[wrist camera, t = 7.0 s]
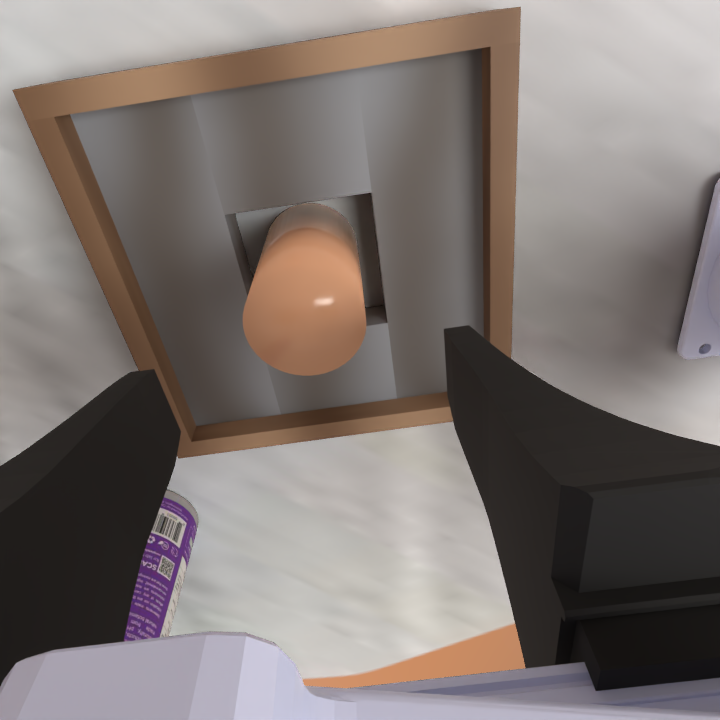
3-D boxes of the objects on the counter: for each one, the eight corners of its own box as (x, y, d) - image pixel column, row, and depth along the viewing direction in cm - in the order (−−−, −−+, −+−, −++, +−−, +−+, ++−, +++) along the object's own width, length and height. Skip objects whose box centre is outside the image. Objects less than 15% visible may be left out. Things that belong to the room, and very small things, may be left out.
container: (88, 500, 26) (-133, 931, 14) (169, 475, 26) (14, 905, 13) (139, 554, 29) (-10, 962, 16) (214, 533, 28) (120, 940, 16)
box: (495, 9, 16) (520, 6, 14) (493, 378, 23) (509, 413, 21) (53, 81, 16) (12, 89, 14) (192, 420, 24) (178, 458, 22)
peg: (356, 201, 19) (364, 264, 14) (359, 288, 21) (368, 372, 16) (259, 205, 19) (232, 270, 14) (272, 293, 21) (252, 378, 16)
